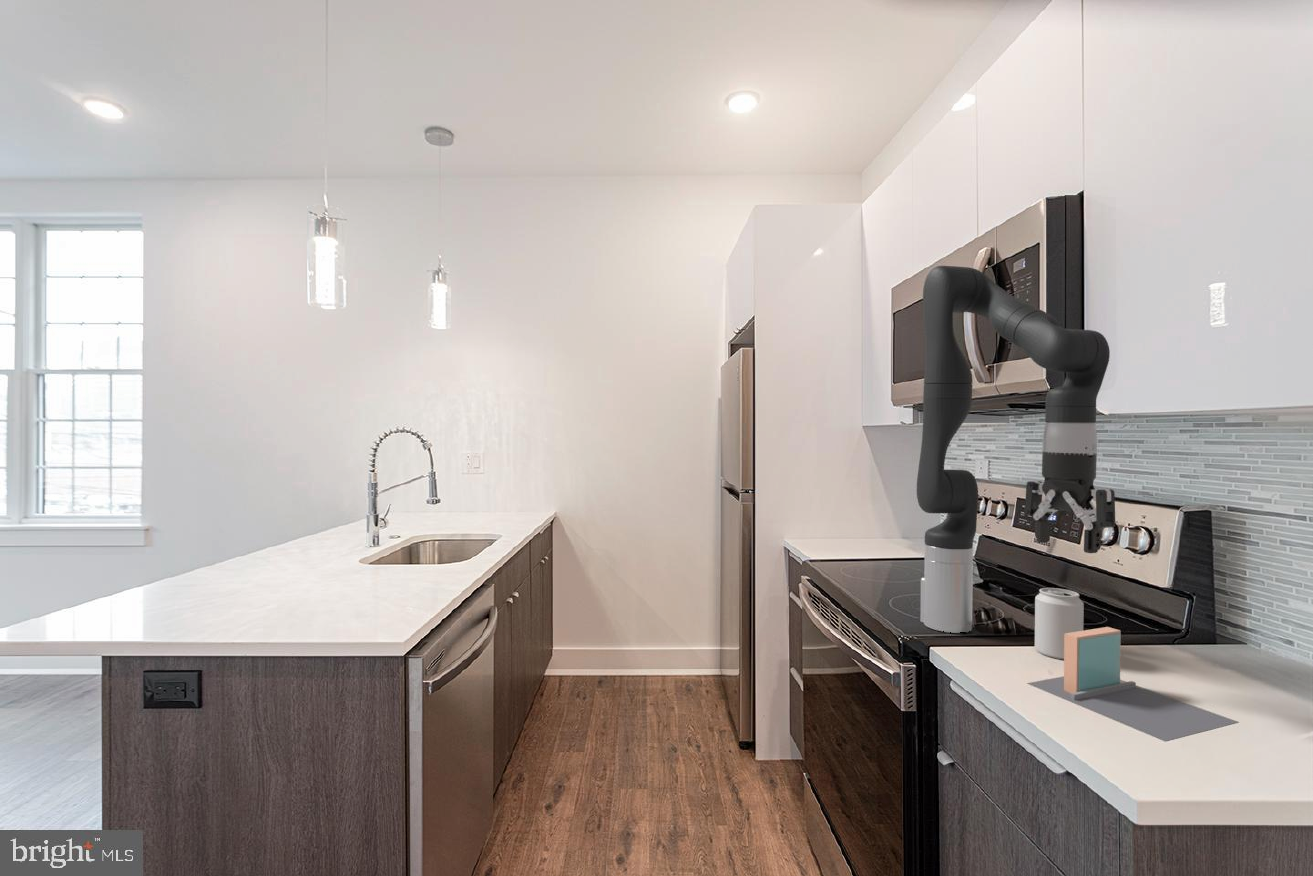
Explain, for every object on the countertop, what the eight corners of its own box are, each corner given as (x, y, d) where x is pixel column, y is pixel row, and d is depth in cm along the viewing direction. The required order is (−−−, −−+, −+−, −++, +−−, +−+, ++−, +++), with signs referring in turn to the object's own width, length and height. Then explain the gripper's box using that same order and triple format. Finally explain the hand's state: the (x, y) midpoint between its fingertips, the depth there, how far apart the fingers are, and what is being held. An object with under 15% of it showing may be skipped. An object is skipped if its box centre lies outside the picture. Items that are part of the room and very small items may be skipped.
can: (1091, 664, 110) (1091, 597, 109) (1044, 661, 111) (1045, 595, 111) (1071, 650, 117) (1072, 587, 117) (1028, 647, 118) (1028, 584, 118)
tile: (1063, 690, 97) (1064, 633, 97) (1107, 681, 101) (1107, 626, 101) (1077, 695, 95) (1077, 637, 95) (1120, 686, 99) (1121, 630, 99)
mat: (1026, 685, 100) (1027, 678, 100) (1094, 672, 106) (1094, 665, 106) (1165, 744, 81) (1165, 735, 81) (1238, 724, 87) (1238, 716, 87)
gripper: (1014, 448, 108) (1012, 540, 109) (1094, 452, 95) (1090, 558, 95) (1047, 448, 110) (1044, 538, 111) (1129, 452, 97) (1126, 555, 97)
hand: (1066, 547), depth 103 cm, fingers open, 8 cm apart
